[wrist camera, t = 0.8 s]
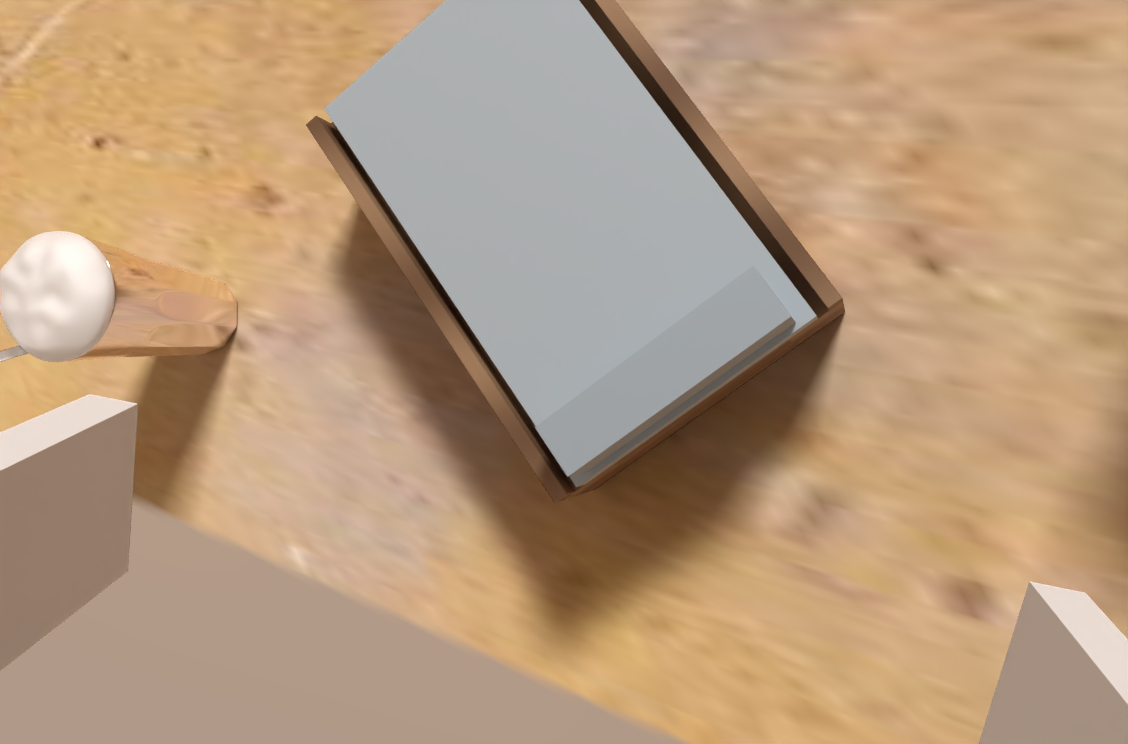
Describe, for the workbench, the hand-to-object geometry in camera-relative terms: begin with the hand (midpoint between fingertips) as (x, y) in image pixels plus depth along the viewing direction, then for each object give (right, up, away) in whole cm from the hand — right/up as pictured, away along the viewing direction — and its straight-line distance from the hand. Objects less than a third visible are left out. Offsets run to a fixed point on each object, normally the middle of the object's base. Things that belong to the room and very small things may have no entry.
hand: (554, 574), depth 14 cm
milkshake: (-15, +5, +28) cm, 32 cm away
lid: (0, +8, +19) cm, 20 cm away
